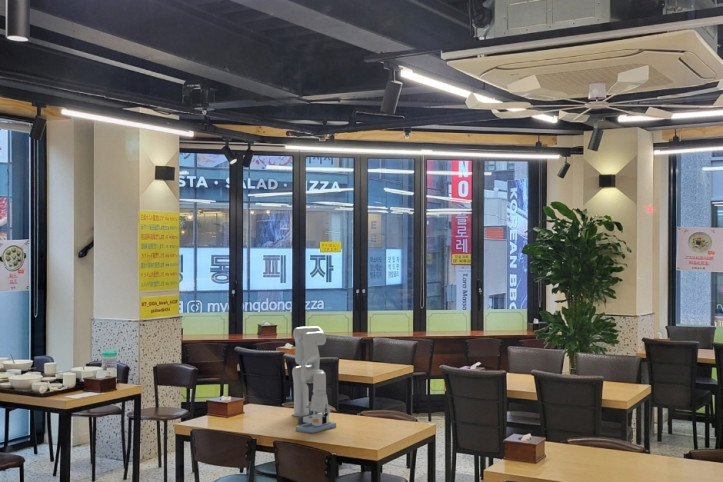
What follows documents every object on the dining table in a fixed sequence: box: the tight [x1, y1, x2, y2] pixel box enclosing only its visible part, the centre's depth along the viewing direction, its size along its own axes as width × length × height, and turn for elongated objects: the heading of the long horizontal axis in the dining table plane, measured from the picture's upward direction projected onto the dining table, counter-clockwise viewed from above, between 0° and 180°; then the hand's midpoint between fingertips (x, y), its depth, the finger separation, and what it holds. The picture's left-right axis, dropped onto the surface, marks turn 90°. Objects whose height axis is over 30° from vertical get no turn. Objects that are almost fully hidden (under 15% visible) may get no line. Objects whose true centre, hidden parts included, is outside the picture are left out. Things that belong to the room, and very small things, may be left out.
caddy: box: [303, 413, 330, 426], centre depth 478 cm, size 16×6×6 cm, turn 143°
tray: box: [295, 421, 337, 434], centre depth 477 cm, size 21×13×2 cm, turn 143°
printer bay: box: [297, 404, 320, 426], centre depth 493 cm, size 12×10×10 cm
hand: (320, 422), depth 480 cm, fingers closed on caddy, 6 cm apart
